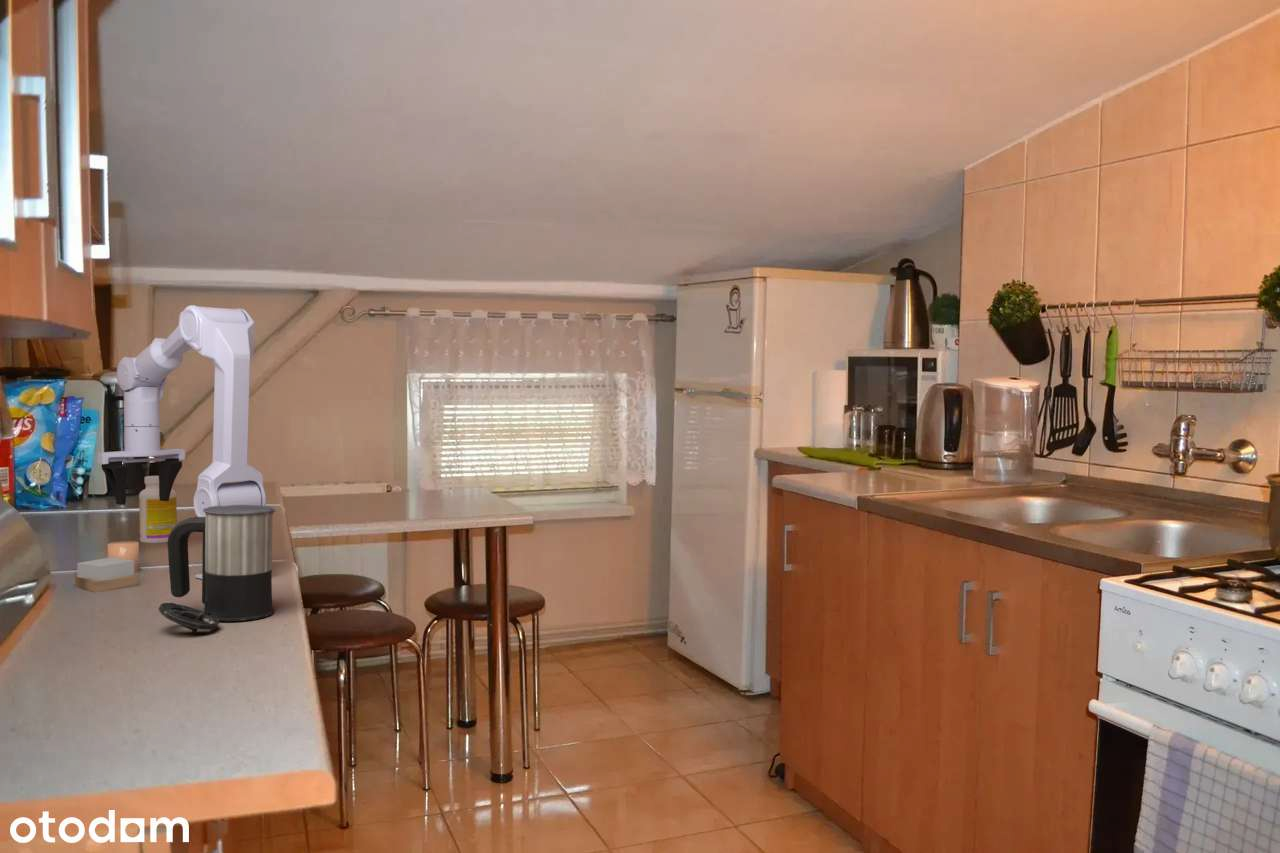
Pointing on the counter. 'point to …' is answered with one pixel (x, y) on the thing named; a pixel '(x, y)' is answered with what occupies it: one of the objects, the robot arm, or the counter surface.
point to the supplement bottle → (156, 513)
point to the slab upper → (105, 569)
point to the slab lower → (106, 583)
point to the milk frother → (224, 566)
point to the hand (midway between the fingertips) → (142, 502)
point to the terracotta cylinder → (125, 552)
